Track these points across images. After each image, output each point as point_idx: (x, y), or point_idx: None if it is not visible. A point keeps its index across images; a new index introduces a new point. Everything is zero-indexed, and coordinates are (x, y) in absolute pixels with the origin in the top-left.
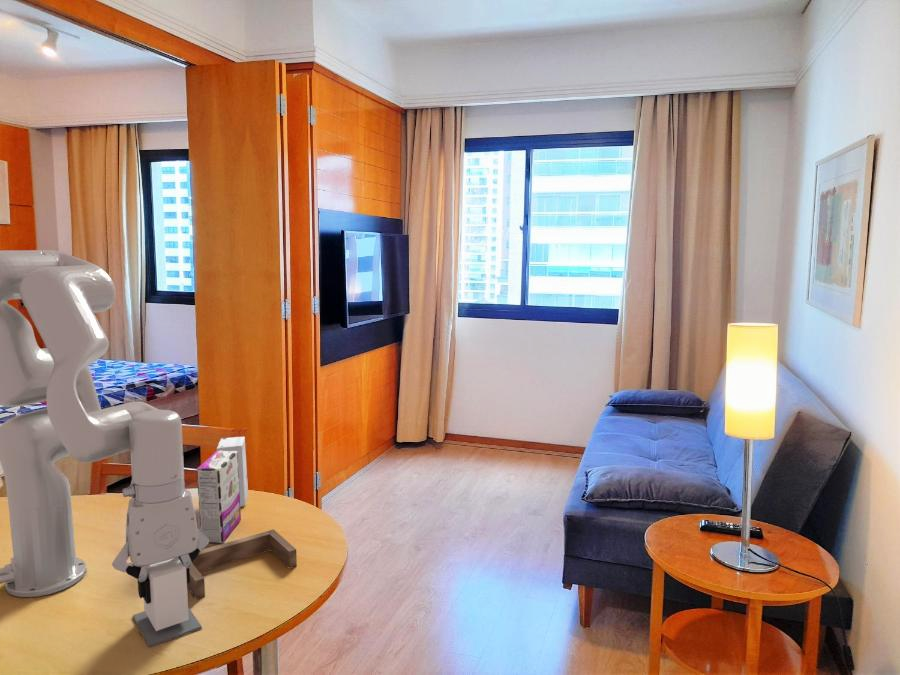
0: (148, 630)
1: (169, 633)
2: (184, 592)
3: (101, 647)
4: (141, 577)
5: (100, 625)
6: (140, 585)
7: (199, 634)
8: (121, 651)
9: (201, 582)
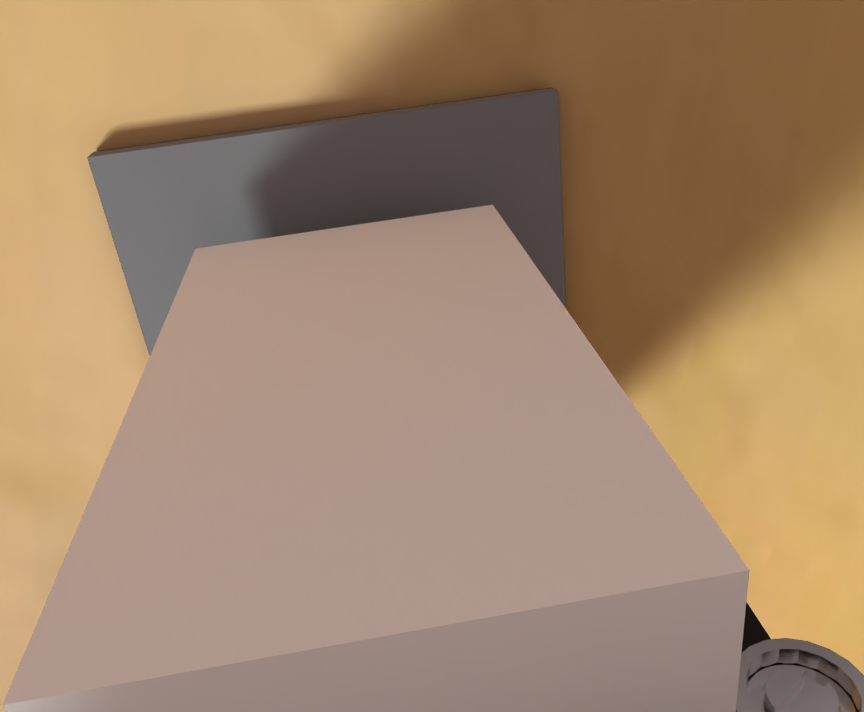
0: None
1: (375, 183)
2: (172, 391)
3: (831, 273)
4: (829, 704)
5: (759, 519)
6: (749, 614)
7: (117, 65)
8: (739, 149)
9: None
